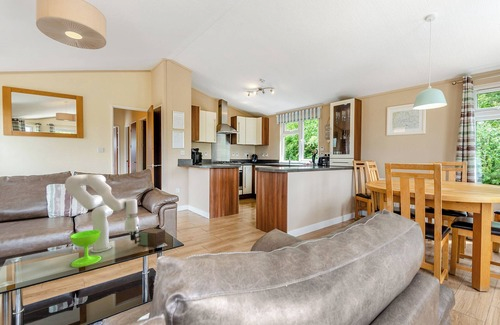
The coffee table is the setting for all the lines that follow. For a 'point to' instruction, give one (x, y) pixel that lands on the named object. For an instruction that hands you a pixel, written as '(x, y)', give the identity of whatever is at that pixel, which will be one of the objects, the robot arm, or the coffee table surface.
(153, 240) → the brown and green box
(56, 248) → the coffee table surface
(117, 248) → the coffee table surface
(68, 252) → the coffee table surface
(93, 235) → the wineglass
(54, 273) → the coffee table surface
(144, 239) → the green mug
